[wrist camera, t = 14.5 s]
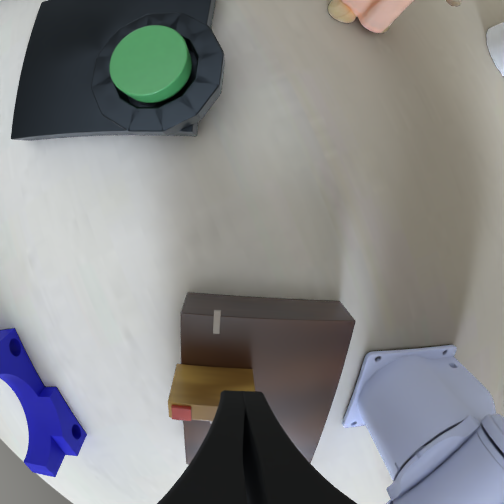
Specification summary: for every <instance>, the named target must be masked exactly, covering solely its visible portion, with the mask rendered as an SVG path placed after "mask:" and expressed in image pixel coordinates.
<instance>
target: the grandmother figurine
mask: <svg viewBox="0 0 504 504" xmlns="http://www.w3.org/2000/svg"><path fill="white" fill-rule="evenodd" d="M413 1H414V0H332V1H331V2H330V4H329V6H328V12H329V14H330V15H331V16H332V17H333V18H334V19H336V20H338V21H340V22H343V23H351V22H353V21H354V20H355V18H356V16H357V17H358V19H359V20H360V22H361V24H362V25H363V26H364V27H365V28H367V29H368V30H370V31H372V32H375V33H385V32H387V31H388V29H389V26H390V24H391V23H392V22H393V21H394V20H395V19H396V18H397V17H398V16H399V15H400V14H401V13H402V12H403V11H404V10H405V9H406V8H407V7H408V6H409V5H410V4H411V3H412V2H413ZM446 1H447V2H448V3H449V4H450V5H451V6H455V7H457V6H460V4H461V0H446Z"/></svg>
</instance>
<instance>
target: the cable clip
mask: <svg viewBox="0 0 504 504" xmlns="http://www.w3.org/2000/svg"><path fill="white" fill-rule="evenodd" d="M0 378H1V379H2V380H3V381H5V382H6V383H7V384H8V385H9V386H10V387H11V388H12V390H13V391H14V392H15V394H16V395H17V397H18V399H19V400H20V402H21V405H22V407H23V409H24V412H25V415H26V419H27V424H28V430H29V445H28V451H27V455H26V458H25V460H24V463H25V464H26V465H27V466H28V467H29V468H30V470H31V471H32V472H34V473H38V474H43V475H47V476H52V477H56V474H57V472H58V470H59V468H60V465H61V463H62V461H63V459H64V456H65V455H73V456H78V454H79V451H80V449H81V447H82V444H83V442H84V440H85V437H86V435H87V434H86V433H85V431H84V430H83V428H82V427H81V425H80V424H79V422H78V421H77V419H76V418H75V416H74V415H73V413H72V412H71V410H70V409H69V407H68V405H67V404H66V402H65V401H64V399H63V397H62V396H61V394H60V392H59V390H58V389H57V387H45V386H44V385H43V383H42V381H41V379H40V378H39V376H38V374H37V372H36V370H35V369H34V367H33V365H32V363H31V361H30V359H29V357H28V355H27V353H26V351H25V349H24V347H23V345H22V343H21V341H20V339H19V336H18V334H17V332H16V330H15V328H12V329H5V330H0Z"/></svg>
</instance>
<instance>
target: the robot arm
mask: <svg viewBox="0 0 504 504" xmlns="http://www.w3.org/2000/svg"><path fill="white" fill-rule="evenodd" d="M456 349H457V348H456V346H454V345H446V346H437V347H427V348H417V349H404V350H390V351H373V352H369V353H368V354H367V355H366V356H365V359H364V362H363V365H362V368H361V371H360V375H359V378H358V381H357V384H356V387H355V389H354V392H353V395H352V398H351V401H350V404H349V406H348V409H347V412H346V414H345V417H344V420H343V422H342V424H343V426H344V427H347V428H348V427H356V426H364V425H366V426H367V428H368V430H369V433H370V435H371V437H372V439H373V441H374V443H375V445H376V447H377V449H378V451H379V453H380V455H381V457H382V459H383V461H384V463H385V465H386V467H387V469H388V471H389V473H390V475H391V478H392V480H393V483H392V484H391V485H390V486H389V487H388V488H387V492H388V494H389V496H390V498H391V500H389V501H388V502H387V503H386V504H504V417H503V416H501V415H500V414H496V410H495V404H494V401H493V398H492V396H491V394H490V392H489V391H488V390H487V389H486V388H485V387H484V386H483V385H482V384H481V383H480V382H479V381H478V380H477V379H476V378H475V377H474V376H473V375H472V374H471V373H470V372H469V371H468V370H467V369H466V368H465V367H464V366H463V365H462V364H461V363H460V362H459V361H458V360H457V359H456V358H455V357H454V355H455V353H456ZM378 356H379V357H378ZM376 357H378V358H377V359H375V358H376ZM157 504H357V503H355V502H354V501H353V500H351V499H350V498H349V497H347V496H346V495H344V494H343V493H342V492H341V491H339V490H338V489H337V488H335V487H334V486H333V485H332V484H331V483H330V482H328V481H327V480H326V479H325V478H324V477H323V476H322V475H321V474H320V473H319V472H318V471H317V470H316V469H315V468H314V467H313V466H312V465H311V464H310V463H309V462H308V461H307V459H306V458H305V457H304V456H303V455H302V454H301V452H300V451H299V450H298V449H297V447H296V446H295V445H294V444H293V442H292V441H291V440H290V438H289V437H288V435H287V434H286V432H285V431H284V429H283V428H282V426H281V425H280V423H279V422H278V420H277V418H276V417H275V415H274V413H273V412H272V410H271V408H270V406H269V404H268V402H267V400H266V398H265V396H264V394H263V393H262V392H258V391H230V390H224V391H222V392H221V394H220V401H219V405H218V408H217V411H216V414H215V417H214V419H213V422H212V424H211V426H210V428H209V431H208V433H207V435H206V437H205V439H204V441H203V442H202V444H201V446H200V448H199V450H198V451H197V453H196V455H195V456H194V458H193V460H192V461H191V463H190V464H189V466H188V467H187V469H186V470H185V471H184V473H183V474H182V475H181V477H180V478H179V479H178V481H177V482H176V483H175V484H174V486H173V487H172V488H171V489H170V490H169V492H168V493H167V494H166V495H165V496H164V497H163V498H162V499H161V500H160V501H159V502H158V503H157Z"/></svg>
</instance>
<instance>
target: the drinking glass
mask: <svg viewBox="0 0 504 504" xmlns="http://www.w3.org/2000/svg"><path fill="white" fill-rule="evenodd" d="M486 39H487V46H488V49H489V52H490V55H491V57H492V59H493V61H494V63H495V65H496V67H497V68H498V70H499V71H500V72H501V74H502V75H503V76H504V22H502V23H500V24H498V25H495V26H493V27H491V28H489V29H488V31H487V34H486Z"/></svg>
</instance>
